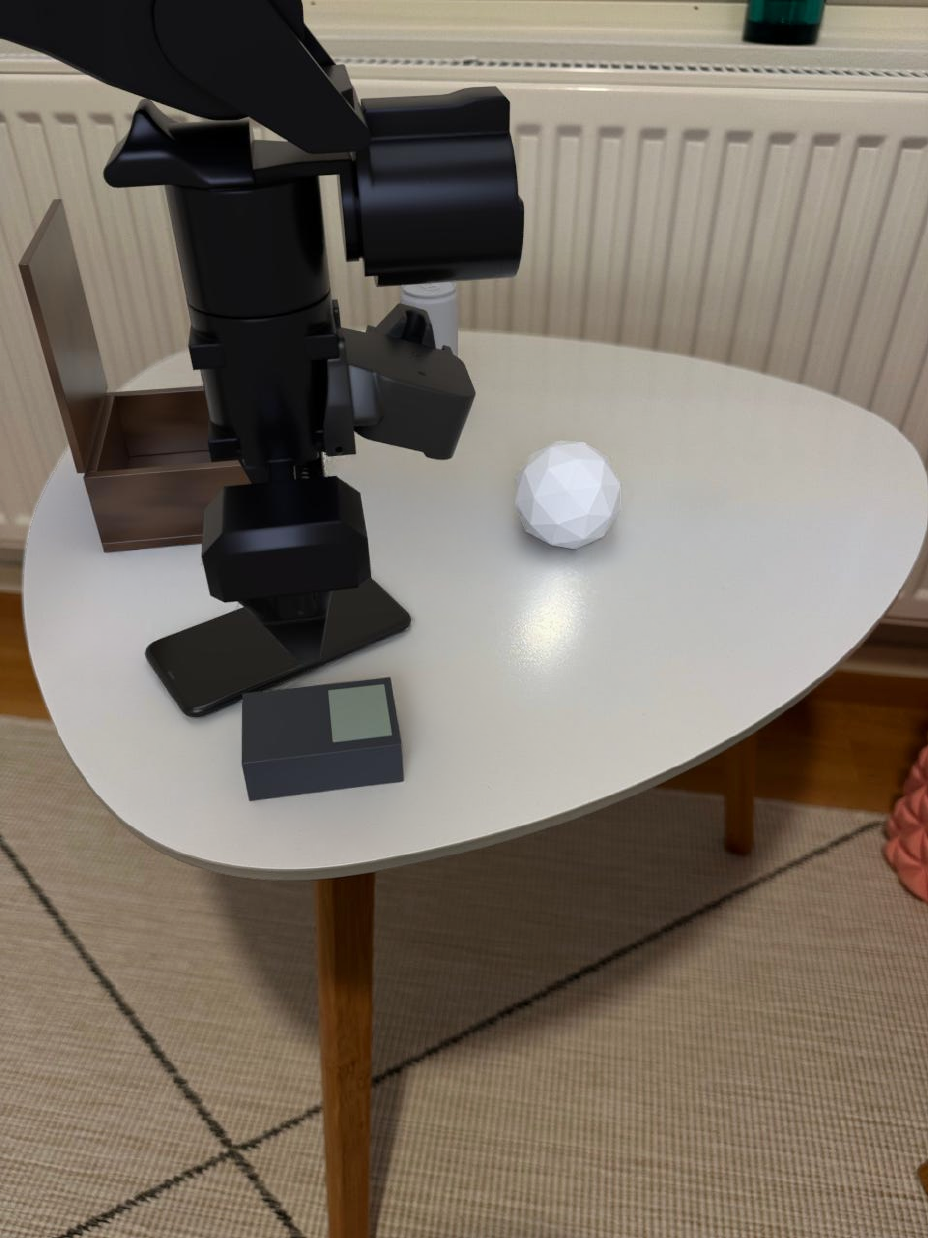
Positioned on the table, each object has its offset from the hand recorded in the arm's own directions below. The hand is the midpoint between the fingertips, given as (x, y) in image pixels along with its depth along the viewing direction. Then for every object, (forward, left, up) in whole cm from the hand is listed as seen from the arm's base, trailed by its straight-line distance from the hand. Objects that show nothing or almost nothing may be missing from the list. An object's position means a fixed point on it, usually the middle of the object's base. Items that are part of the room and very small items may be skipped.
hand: (304, 600), depth 49 cm
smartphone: (-2, +10, -11) cm, 15 cm away
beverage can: (+12, +40, -11) cm, 44 cm away
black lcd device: (0, 0, -11) cm, 11 cm away
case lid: (-14, +30, +3) cm, 33 cm away
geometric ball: (+19, +19, -11) cm, 29 cm away
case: (-8, +30, -11) cm, 33 cm away
